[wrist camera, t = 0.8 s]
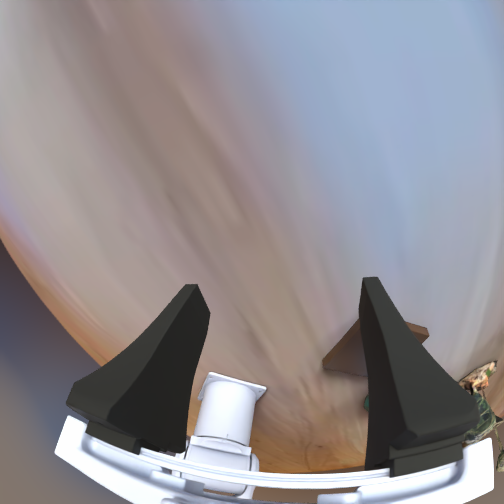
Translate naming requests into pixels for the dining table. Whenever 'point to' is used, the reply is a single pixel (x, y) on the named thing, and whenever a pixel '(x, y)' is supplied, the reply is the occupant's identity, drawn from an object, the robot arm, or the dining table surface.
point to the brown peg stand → (358, 350)
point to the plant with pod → (482, 408)
